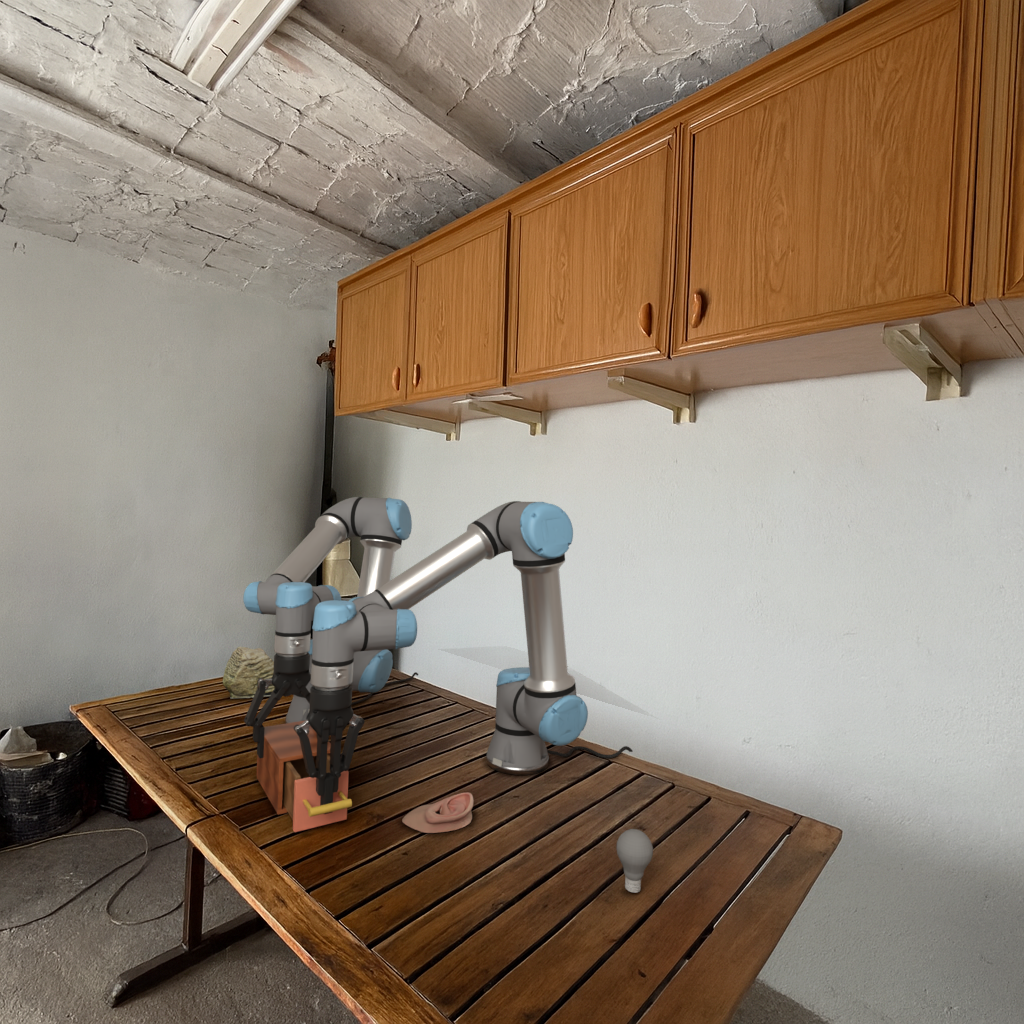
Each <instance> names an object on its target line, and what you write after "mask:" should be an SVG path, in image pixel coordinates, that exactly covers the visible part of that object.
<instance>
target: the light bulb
mask: <svg viewBox="0 0 1024 1024" xmlns="http://www.w3.org/2000/svg"><path fill="white" fill-rule="evenodd" d="M615 849H616V854H617V857H618V859H619V861H620V863H621V865H622V867H623V873H624V874H623V875H624V876H625V878H624V888H625V890H627V891H628V892H630V893H634V894H635V893H639V892H640V891H641V889H642V887H641V886H642V879H643V877H644V875H645V871H646V868H647V867H648V866H649V864H650V863H651V861H652V859H653V855H654V847H653V843H652V841H651V838H649V836H648V835H647V834H646V833H645V832H643V831H642V830H641V829H636V828H629V829H627V830H625V831H623V832H622V833H621V834H620V835H619V837H618V839H617V841H616V847H615Z"/></svg>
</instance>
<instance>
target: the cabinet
mask: <svg viewBox="0 0 1024 1024" xmlns="http://www.w3.org/2000/svg"><path fill="white" fill-rule="evenodd" d="M305 721H306V720H305ZM303 722H304V721H299V722H292V723H286V722H285V723H281V724H276V725H268V726H264V728H265V730H264V755H263V758H259V756H258V755H257V754H256V756H257V757H256V779H257V781H258V783H259V784H260V786H261V788H262V790H263V791H264V793H265V795H266V797H267V799H268V800H269V802H270V804H271V806H272V807H273V809H274V811H275V812H276V814H277V815H278V816H279V815H282V814H287V813H288V812H287V810H286V808H285V807H284V805H283V803H282V794H283V768H284V762H286V761H292V760H297V759H302V758H303V753H302V749H301V744H300V739H299V736H298V735H297V733H296V732H295V731H294V726H295V725H300V724H302V723H303ZM307 736H308V738H309V741H310V745H311V750H312V755H313V756H316V755H317V733H316V732H315V731H314V729H313V728H312V727H311V726H310V727H309V734H308V735H307ZM330 746H331V741H328V745H327V754H328V755H329V756H330Z"/></svg>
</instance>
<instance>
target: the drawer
mask: <svg viewBox="0 0 1024 1024" xmlns="http://www.w3.org/2000/svg"><path fill="white" fill-rule="evenodd" d="M313 759H314V764H315V768H316V756H313ZM328 772H330V756H329V755H328V754H327V766H326V773H328ZM349 774H350V773H349V770H347V771H343V772H341V776H340V777H339V784H338V791H337V792H334V793H333V803H329V804H325V805H321V806H320V797H321V796H319V795H318V794H317V792H316V778H315V777H314V778H311V777H310V776H309V774H308V773H307V771H306V767H305V763H304V758H302V759H297V760H292V761H286V762H284V768H283V794H282V803H283V805H284V807H285V808H286V810H287V813H288V815H289V817H290V818H291V820H292V830H293V832H294V833H298V832H302V831H306V830H310V829H314V828H317V827H318V828H319V827H321V826H326V825H330V824H333V823H337V822H342V821H345V820H346V821H347V819H348V809H349V808H352V806H353V801H352V799H351V798H348V797H349ZM329 812H332V813H329ZM325 813H328V814H325Z"/></svg>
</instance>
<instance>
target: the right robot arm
mask: <svg viewBox="0 0 1024 1024" xmlns="http://www.w3.org/2000/svg"><path fill="white" fill-rule="evenodd" d="M572 523H573V522H572V520H571V519H570V517H569V515H568V514H567V513H566V511H565V510H563V509H562V508H561V507H560V506H558V505H557V504H554V503H548V502H545V501H519V500H513V501H508V502H505V503H503V504H501V505H499V506H496V507H495V508H493V509H491V510H490V511H488V512H486V513H485V514H484V515H482V516H480V517H478V518H477V519H476V520H474V521H472V522H471V523H469V524H468V525H467V527H466V531H465V532H463V533H461V534H460V535H459V536H457V537H456V538H454V539H452V540H451V541H449V542H448V543H446V544H445V545H443V546H442V547H440V548H438V549H437V550H435V551H434V552H432V553H431V554H429V555H428V556H426V557H424V558H423V559H421V560H420V561H418V562H416V564H414V565H412V566H410V567H408V569H406V570H404V571H403V572H401V573H400V574H398V575H397V576H395V577H393V578H391V581H389V582H387V583H386V584H384V585H383V586H381V587H380V588H378V589H376V590H375V591H373V592H371V593H370V594H368V595H367V596H365V597H357V596H356V597H353V598H350V599H349V600H341V601H338V600H331V601H324V602H320V603H319V604H317V606H316V607H315V612H314V621H312V625H311V630H312V639H313V648H312V667H311V684H312V685H313V686H312V687H311V688H310V710H309V713H308V715H307V717H306V719H307V720H306V721H304V722H303V723H302V724H300V725H295V726H294V731H295V732H296V733H297V735H298V736H299V739H300V744H301V749H302V753H303V758H304V763H305V767H306V771H307V773H308V774H309V776H310V777H311V778H314V777H315V778H316V792H317V794H318V795H319V796H321V797H320V806H321V805H325V804H329V803H333V793H334V792H337V791H338V784H339V777H340V776H341V772H343V771H347V770H348V771H349V770H350V767H351V762H352V759H353V755H354V752H355V749H356V745H357V741H358V738H359V733H360V731H361V729H363V726H364V724H365V723H366V722H365V719H364V718H363V717H362V716H360V715H359V714H355V713H354V710H353V708H352V705H351V704H352V702H353V701H352V700H353V691H352V686H351V685H350V684H351V683H352V680H353V661H354V652H357V651H371V650H385V649H387V650H399V649H404V648H409V647H411V646H413V645H414V643H415V642H416V640H417V636H418V621H417V617H416V614H415V613H414V612H413V611H412V610H411V608H413V607H415V606H416V605H418V604H419V603H420V602H422V601H423V600H425V599H426V598H428V597H429V596H431V595H432V594H434V593H435V592H436V591H438V590H441V588H443V587H445V586H446V585H448V584H449V583H450V582H452V581H454V580H455V579H456V578H458V577H459V576H461V575H462V574H464V573H465V572H467V571H468V570H469V569H472V568H474V566H476V565H477V564H479V563H481V562H482V561H483V560H489V561H491V560H492V559H494V558H495V557H496V556H497V557H498V556H499V555H501V554H503V553H507V552H511V559H512V566H513V567H514V568H515V569H517V571H519V573H520V581H521V592H522V602H523V613H524V624H525V635H526V645H527V655H528V656H527V657H528V658H527V659H528V666H526V667H525V666H524V667H523V666H521V667H508V668H505V669H502V670H500V671H499V672H498V674H497V679H496V694H495V695H496V697H495V723H494V725H495V726H494V732H493V735H492V738H491V740H490V743H489V744H488V745H489V746H488V748H487V751H486V761H485V762H486V764H487V766H489V768H490V769H492V770H494V771H496V772H499V773H502V774H506V775H511V776H512V775H513V776H529V775H535V774H539V773H541V772H544V770H546V769H547V768H548V766H549V759H550V757H549V756H550V755H552V756H553V755H554V756H558V757H561V758H568V757H570V756H571V755H572V754H573V753H574V752H575V751H585V752H587V753H590V754H592V755H593V756H596V757H598V758H602V759H615V758H616V757H619V756H620V755H621V754H622V753H623V752H624V751H628V752H629V753H633V749H632V748H631V747H629V746H627V745H624V746H622V747H621V748H619V750H617V752H614V753H612V754H603V753H600V752H598V751H596V750H593V749H591V748H590V747H587V746H580V745H576V746H575V745H574V746H572V747H571V748H570V749H569V750H568V752H566V753H562V752H559V751H556V750H550V749H548V748H547V745H546V743H549V744H551V745H553V746H557V747H563V746H566V745H569V744H571V743H572V742H574V741H576V739H577V738H579V737H580V735H581V733H582V731H584V729H585V727H586V725H587V721H588V716H589V711H588V706H587V704H586V702H585V701H584V700H583V698H582V697H580V696H578V695H577V685H576V678H575V677H574V676H573V675H572V674H571V673H570V672H569V670H568V658H567V648H566V647H567V645H566V634H565V623H564V622H565V621H564V613H563V612H564V611H563V600H562V588H561V587H562V586H561V575H560V568H561V567H562V566H563V565H564V563H565V562H566V553H567V552H568V550H569V549H570V547H569V546H570V545H572V542H573V538H574V528H573V524H572ZM348 724H349V726H348ZM310 726H311V727H312V728H313V729H314V731H315V732H316V733H317V755H316V768H315V764H314V759H313V755H312V750H311V745H310V741H309V738H308V736H307V735H308V734H309V727H310ZM347 726H348V728H347V733H346V737H345V740H344V745H343V747H342V740H343V734H344V733H343V732H344V730H345V728H346V727H347ZM329 738H330V739H329ZM329 740H330V741H329ZM328 741H329V742H330V743H331V746H330V772H328V773H326V766H327V745H328ZM329 813H332V812H329ZM325 814H328V813H325Z"/></svg>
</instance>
